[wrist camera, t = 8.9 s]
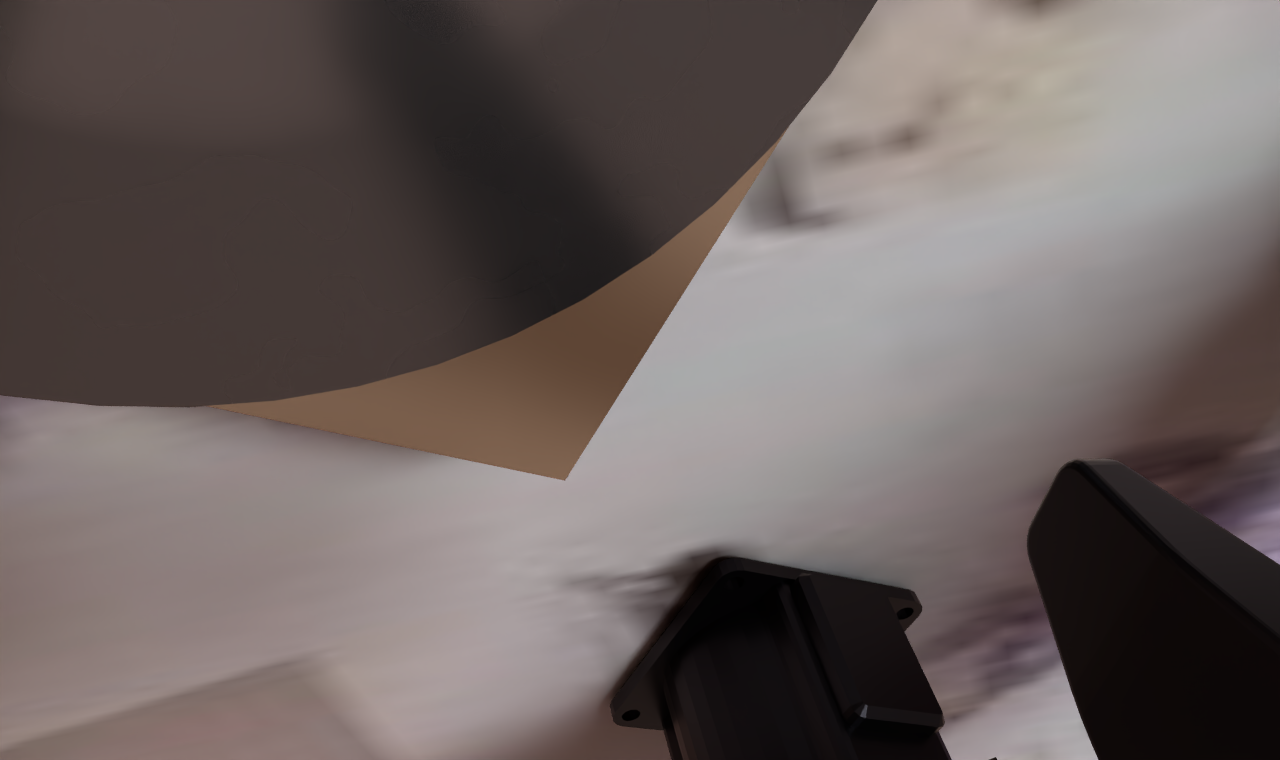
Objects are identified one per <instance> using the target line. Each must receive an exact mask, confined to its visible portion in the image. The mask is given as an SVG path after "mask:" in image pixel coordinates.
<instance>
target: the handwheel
mask: <svg viewBox="0 0 1280 760" xmlns="http://www.w3.org/2000/svg"><path fill="white" fill-rule="evenodd" d="M876 2H877V0H0V395H3V396H13V397H22V398H31V399H41V400H50V401H60V402H69V403H78V404H88V405H97V406H150V407H197V406H211V405H224V404H238V403H251V402H264V401H276V400H282V399H288V398H294V397H300V396H305V395H311V394H317V393H323V392H329V391H335V390H341V389H346V388H352V387H358V386H362V385H365V384H369V383H373V382H376V381H380V380H384V379H387V378H391V377H395V376H398V375H402V374H406V373H409V372H413V371H416V370H420V369H424V368H427V367H431V366H435V365H438V364H440V363H443V362H446V361H448V360H451V359H453V358H456V357H459V356H461V355H464V354H466V353H469V352H472V351H474V350H477V349H479V348H482V347H485V346H487V345H490V344H492V343H495V342H498V341H500V340H503V339H505V338H508V337H511V336H513V335H515V334H517V333H519V332H521V331H523V330H525V329H527V328H529V327H531V326H533V325H534V324H536V323H538V322H540V321H542V320H544V319H546V318H548V317H550V316H552V315H554V314H556V313H558V312H560V311H562V310H564V309H566V308H568V307H570V306H572V305H574V304H576V303H578V302H580V301H582V300H584V299H585V298H587V297H588V296H590V295H591V294H593V293H594V292H596V291H597V290H599V289H601V288H602V287H604V286H605V285H607V284H608V283H610V282H611V281H613V280H614V279H616V278H618V277H619V276H621V275H622V274H624V273H625V272H627V271H628V270H630V269H631V268H633V267H634V266H636V265H638V264H639V263H641V262H642V261H644V260H645V259H647V258H648V257H650V256H651V255H653V254H654V253H655V252H656V251H658V250H659V249H660V248H661V247H662V246H664V245H665V244H666V243H667V242H669V241H670V240H671V239H672V238H674V237H675V236H676V235H677V234H678V233H680V232H681V231H682V230H683V229H685V228H686V227H687V226H688V225H690V224H691V223H692V222H693V221H694V220H696V219H697V218H698V217H699V216H701V215H702V214H703V213H704V212H706V211H707V210H708V209H709V208H711V207H712V206H713V205H714V204H715V203H716V202H717V201H718V200H719V199H720V198H721V197H722V196H723V195H724V194H725V193H726V192H727V191H728V190H729V189H730V188H731V187H732V186H733V185H734V184H735V183H736V182H737V181H738V180H739V179H740V178H741V177H742V176H743V175H744V174H745V173H746V172H747V171H748V170H749V169H750V168H751V167H752V166H753V165H754V164H755V163H756V162H757V161H758V160H759V159H760V158H761V157H762V156H763V155H764V154H765V153H766V152H767V151H768V150H769V149H770V148H771V147H772V146H773V145H774V144H775V143H776V142H777V140H778V139H779V138H780V137H781V135H782V134H783V133H784V132H785V130H786V129H787V128H788V127H789V125H790V124H791V123H792V122H793V120H794V119H795V118H796V117H797V115H798V114H799V113H800V112H801V110H802V109H803V108H804V107H805V105H806V104H807V103H808V102H809V100H810V99H811V98H812V97H813V95H814V94H815V93H816V91H817V90H818V89H819V88H820V86H821V85H822V84H823V83H824V81H825V80H826V79H827V78H828V76H829V75H830V74H831V72H832V71H833V69H834V68H835V66H836V65H837V63H838V61H839V60H840V58H841V57H842V55H843V54H844V52H845V50H846V49H847V47H848V46H849V44H850V43H851V41H852V39H853V38H854V36H855V35H856V33H857V32H858V30H859V28H860V27H861V25H862V24H863V22H864V21H865V19H866V17H867V16H868V14H869V13H870V11H871V10H872V8H873V6H874V5H875V3H876Z"/></svg>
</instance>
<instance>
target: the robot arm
mask: <svg viewBox="0 0 1280 760" xmlns="http://www.w3.org/2000/svg"><path fill="white" fill-rule="evenodd" d="M1027 550H1028V556H1029V560H1030V563H1031V566H1032V570H1033V573H1034V576H1035V579H1036V582H1037V585H1038V588H1039V591H1040V594H1041V598H1042V601H1043V604H1044V607H1045V610H1046V613H1047V616H1048V619H1049V622H1050V626H1051V629H1052V632H1053V635H1054V638H1055V641H1056V644H1057V647H1058V650H1059V654H1060V657H1061V660H1062V663H1063V666H1064V669H1065V672H1066V675H1067V679H1068V682H1069V685H1070V688H1071V691H1072V694H1073V697H1074V699H1075V702H1076V705H1077V708H1078V711H1079V714H1080V716H1081V719H1082V721H1083V724H1084V726H1085V729H1086V731H1087V734H1088V736H1089V739H1090V741H1091V743H1092V746H1093V748H1094V750H1095V753H1096V755H1097V757H1098V760H1280V565H1279V564H1278V563H1276V562H1275V561H1273V560H1272V559H1270V558H1269V557H1267V556H1265V555H1264V554H1262V553H1261V552H1259V551H1258V550H1256V549H1255V548H1253V547H1251V546H1250V545H1248V544H1247V543H1245V542H1244V541H1242V540H1241V539H1239V538H1238V537H1236V536H1234V535H1233V534H1231V533H1230V532H1228V531H1227V530H1225V529H1224V528H1222V527H1220V526H1219V525H1217V524H1216V523H1214V522H1213V521H1211V520H1210V519H1208V518H1207V517H1205V516H1203V515H1202V514H1200V513H1199V512H1197V511H1196V510H1194V509H1193V508H1191V507H1189V506H1188V505H1186V504H1185V503H1183V502H1182V501H1180V500H1179V499H1177V498H1176V497H1174V496H1172V495H1171V494H1169V493H1168V492H1166V491H1165V490H1163V489H1162V488H1160V487H1158V486H1157V485H1155V484H1154V483H1152V482H1151V481H1149V480H1148V479H1146V478H1145V477H1143V476H1141V475H1140V474H1138V473H1137V472H1135V471H1134V470H1132V469H1131V468H1129V467H1128V466H1126V465H1124V464H1123V463H1121V462H1119V461H1116V460H1112V459H1075V460H1071V461H1069V462H1067V463H1066V464H1065V465H1063V466H1062V467H1061V468H1060V470H1059V471H1058V473H1057V475H1056V476H1055V478H1054V480H1053V482H1052V484H1051V486H1050V488H1049V490H1048V492H1047V494H1046V496H1045V497H1044V499H1043V501H1042V503H1041V505H1040V507H1039V509H1038V511H1037V513H1036V515H1035V517H1034V519H1033V520H1032V522H1031V525H1030V527H1029V530H1028V535H1027ZM921 612H922V606H921V604H920V602H919V600H918V598H917V596H916V594H915V592H913V591H911V590H908V589H902V588H897V587H892V586H886V585H881V584H876V583H870V582H865V581H860V580H854V579H849V578H844V577H839V576H833V575H828V574H823V573H817V572H812V571H807V570H801V569H796V568H791V567H785V566H780V565H775V564H769V563H764V562H759V561H753V560H748V559H743V558H730V559H726V560H724V561H722V562H720V563H718V564H717V565H716V566H715V567H714V568H713V569H712V570H711V572H710V573H709V574H708V576H707V577H706V578H705V579H704V581H703V582H702V583H701V585H700V586H699V587H698V589H697V590H696V591H695V593H694V594H693V595H692V597H691V598H690V599H689V600H688V602H687V603H686V604H685V606H684V607H683V608H682V610H681V611H680V612H679V614H678V615H677V616H676V617H675V619H674V620H673V621H672V623H671V624H670V625H669V627H668V628H667V629H666V631H665V632H664V633H663V634H662V636H661V637H660V638H659V640H658V641H657V642H656V644H655V645H654V646H653V648H652V649H651V650H650V651H649V653H648V654H647V655H646V657H645V658H644V659H643V661H642V662H641V663H640V665H639V666H638V667H637V669H636V670H635V671H634V672H633V674H632V675H631V676H630V678H629V679H628V680H627V682H626V683H625V684H624V686H623V687H622V688H621V689H620V691H619V692H618V693H617V695H616V696H615V697H614V699H613V700H612V702H611V704H610V709H611V713H612V717H613V721H614V722H615V723H616V724H617V725H620V726H626V727H636V728H645V729H655V730H664V734H665V737H666V741H667V744H668V748H669V752H670V755H671V759H672V760H952V759H951V757H950V755H949V753H948V751H947V749H946V746H945V744H944V742H943V740H942V738H941V736H940V734H939V730H940V729H941V728H942V727H943V726H944V723H945V721H944V717H943V713H942V710H941V708H940V706H939V704H938V702H937V699H936V697H935V695H934V693H933V691H932V689H931V687H930V685H929V683H928V681H927V678H926V676H925V674H924V672H923V670H922V668H921V666H920V664H919V662H918V660H917V657H916V655H915V653H914V651H913V649H912V647H911V645H910V643H909V641H908V639H907V636H906V634H905V632H904V631H905V630H906V629H907V628H908V627H909V626H910V625H911V624H912V623H913V622H914V620H915V619H916V618H917V617H918V616H919V615H920V613H921ZM990 760H997V758H996V757H995V758H992V759H990Z"/></svg>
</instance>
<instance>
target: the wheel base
mask: <svg viewBox="0 0 1280 760" xmlns="http://www.w3.org/2000/svg"><path fill="white" fill-rule="evenodd" d="M786 130H787V129H786ZM786 130H785V132H786ZM785 132H784V133H785ZM784 133H783V134H782V135H781V137H780V138H779V139H778V140H777V142H776V143H775V144H774V145H773V146H772V147H771V148H770V149H769V150H768V151H767V152H766V153H765V154H764V155H763V156H762V157H761V158H760V159H759V160H758V161H757V162H756V163H755V164H754V165H753V166H752V167H751V168H750V169H749V170H748V171H747V172H746V173H745V174H744V175H743V176H742V177H741V178H740V179H739V180H738V181H737V182H736V183H735V184H734V185H733V186H732V187H731V188H730V189H729V190H728V191H727V192H726V193H725V194H724V195H723V196H722V197H721V198H720V199H719V200H718V201H717V202H716V203H715V204H714V205H713V206H712V207H711V208H709V209H708V210H707V211H706V212H704V213H703V214H702V215H701V216H699V217H698V218H697V219H696V220H694V221H693V222H692V223H691V224H690V225H688V226H687V227H686V228H685V229H683V230H682V231H681V232H680V233H678V234H677V235H676V236H675V237H674V238H672V239H671V240H670V241H669V242H667V243H666V244H665V245H664V246H662V247H661V248H660V249H659V250H658V251H656V252H655V253H654V254H653V255H651V256H650V257H648V258H647V259H645V260H644V261H642V262H641V263H639V264H638V265H636V266H634V267H633V268H631V269H630V270H628V271H627V272H625V273H624V274H622V275H621V276H619V277H618V278H616V279H614V280H613V281H611V282H610V283H608V284H607V285H605V286H604V287H602V288H601V289H599V290H597V291H596V292H594V293H593V294H591V295H590V296H588V297H587V298H585V299H584V300H582V301H580V302H578V303H576V304H574V305H572V306H570V307H568V308H566V309H564V310H562V311H560V312H558V313H556V314H554V315H552V316H550V317H548V318H546V319H544V320H542V321H540V322H538V323H536V324H534V325H533V326H531V327H529V328H527V329H525V330H523V331H521V332H519V333H517V334H515V335H513V336H511V337H508V338H505V339H503V340H500V341H498V342H495V343H492V344H490V345H487V346H485V347H482V348H479V349H477V350H474V351H472V352H469V353H466V354H464V355H461V356H459V357H456V358H453V359H451V360H448V361H446V362H443V363H440V364H438V365H435V366H431V367H427V368H424V369H420V370H416V371H413V372H409V373H406V374H402V375H398V376H395V377H391V378H387V379H384V380H380V381H376V382H373V383H369V384H365V385H362V386H358V387H352V388H346V389H341V390H335V391H329V392H323V393H317V394H311V395H305V396H300V397H294V398H288V399H282V400H276V401H264V402H251V403H238V404H224V405H211V406H208V407H213V408H218V409H223V410H228V411H233V412H237V413H242V414H247V415H252V416H257V417H262V418H266V419H271V420H276V421H281V422H286V423H290V424H295V425H300V426H305V427H310V428H315V429H319V430H324V431H329V432H334V433H339V434H344V435H348V436H353V437H358V438H363V439H368V440H373V441H377V442H382V443H387V444H392V445H397V446H401V447H406V448H411V449H416V450H421V451H426V452H430V453H435V454H440V455H445V456H450V457H455V458H459V459H464V460H469V461H474V462H479V463H483V464H488V465H493V466H498V467H503V468H508V469H512V470H517V471H522V472H527V473H532V474H537V475H541V476H546V477H551V478H556V479H561V480H565V479H566V478H567V476H568V475H569V473H570V471H571V470H572V468H573V467H574V465H575V464H576V462H577V460H578V459H579V457H580V456H581V454H582V452H583V451H584V449H585V448H586V446H587V445H588V443H589V441H590V440H591V438H592V437H593V435H594V433H595V432H596V430H597V429H598V427H599V426H600V424H601V422H602V421H603V419H604V418H605V416H606V415H607V413H608V411H609V410H610V408H611V407H612V405H613V403H614V402H615V400H616V399H617V397H618V396H619V394H620V392H621V391H622V389H623V388H624V386H625V384H626V383H627V381H628V380H629V378H630V377H631V375H632V373H633V372H634V370H635V369H636V367H637V366H638V364H639V362H640V361H641V359H642V358H643V356H644V354H645V353H646V351H647V350H648V348H649V347H650V345H651V343H652V342H653V340H654V339H655V337H656V335H657V334H658V332H659V331H660V329H661V328H662V326H663V324H664V323H665V321H666V320H667V318H668V317H669V315H670V313H671V312H672V310H673V309H674V307H675V305H676V304H677V302H678V301H679V299H680V298H681V296H682V294H683V293H684V291H685V290H686V288H687V286H688V285H689V283H690V282H691V280H692V279H693V277H694V275H695V274H696V272H697V271H698V269H699V268H700V266H701V264H702V263H703V261H704V260H705V258H706V256H707V255H708V253H709V252H710V250H711V249H712V247H713V245H714V244H715V242H716V241H717V239H718V237H719V236H720V234H721V233H722V231H723V230H724V228H725V226H726V225H727V223H728V222H729V220H730V219H731V217H732V215H733V214H734V212H735V211H736V209H737V207H738V206H739V204H740V203H741V201H742V200H743V198H744V196H745V195H746V193H747V192H748V190H749V188H750V187H751V185H752V184H753V182H754V181H755V179H756V177H757V176H758V174H759V173H760V171H761V170H762V168H763V166H764V165H765V163H766V162H767V160H768V158H769V157H770V155H771V154H772V152H773V151H774V149H775V147H776V146H777V144H778V143H779V141H780V139H781V138H782V136H783V135H784Z"/></svg>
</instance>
